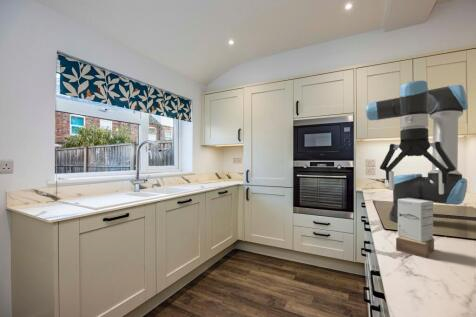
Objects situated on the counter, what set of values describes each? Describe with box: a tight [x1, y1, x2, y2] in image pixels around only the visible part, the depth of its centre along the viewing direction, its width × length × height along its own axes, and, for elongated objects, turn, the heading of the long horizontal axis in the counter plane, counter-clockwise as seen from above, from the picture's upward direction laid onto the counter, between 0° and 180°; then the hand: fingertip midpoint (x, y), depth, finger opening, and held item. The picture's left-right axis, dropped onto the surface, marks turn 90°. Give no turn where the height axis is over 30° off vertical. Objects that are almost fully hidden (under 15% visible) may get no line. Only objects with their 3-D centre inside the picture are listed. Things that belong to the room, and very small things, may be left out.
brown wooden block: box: [395, 236, 435, 259], centre depth 77 cm, size 10×8×4 cm
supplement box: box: [397, 198, 434, 242], centre depth 77 cm, size 7×7×13 cm
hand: (414, 191), depth 77 cm, fingers open, 13 cm apart
